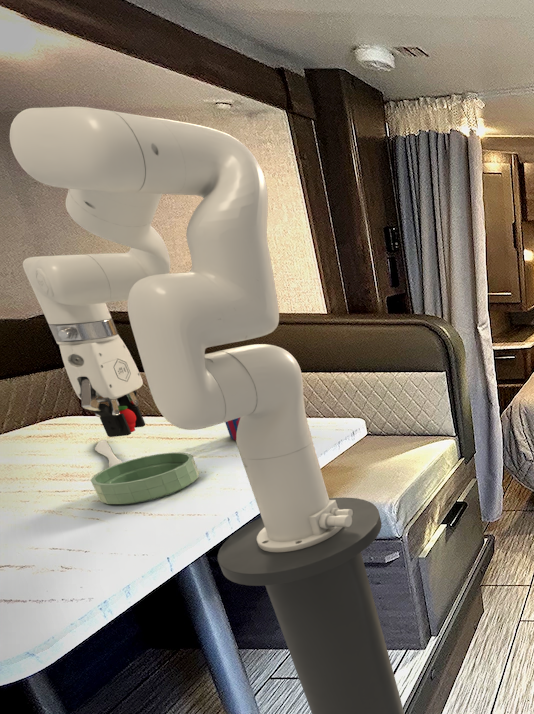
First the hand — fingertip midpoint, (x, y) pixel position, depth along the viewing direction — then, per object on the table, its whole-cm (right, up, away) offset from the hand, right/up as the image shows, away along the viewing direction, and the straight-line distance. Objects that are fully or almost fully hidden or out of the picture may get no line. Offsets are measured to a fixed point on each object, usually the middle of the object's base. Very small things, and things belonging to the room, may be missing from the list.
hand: (127, 430), depth 92 cm
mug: (-1, -2, +29) cm, 29 cm away
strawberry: (0, 0, 0) cm, 0 cm away
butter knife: (-25, -6, +20) cm, 32 cm away
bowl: (0, -11, +4) cm, 12 cm away
